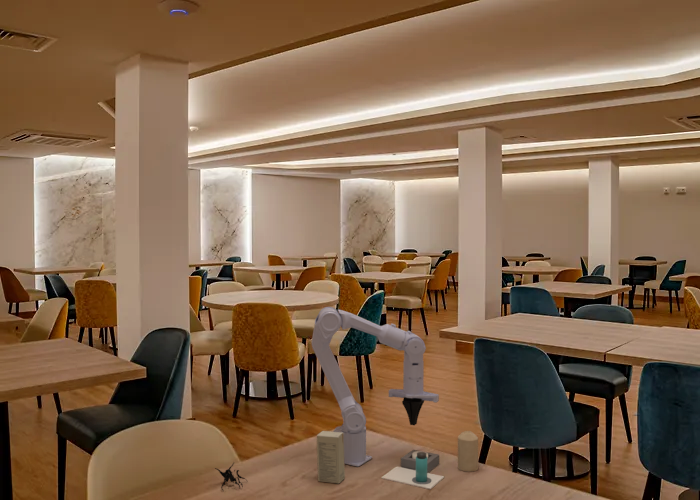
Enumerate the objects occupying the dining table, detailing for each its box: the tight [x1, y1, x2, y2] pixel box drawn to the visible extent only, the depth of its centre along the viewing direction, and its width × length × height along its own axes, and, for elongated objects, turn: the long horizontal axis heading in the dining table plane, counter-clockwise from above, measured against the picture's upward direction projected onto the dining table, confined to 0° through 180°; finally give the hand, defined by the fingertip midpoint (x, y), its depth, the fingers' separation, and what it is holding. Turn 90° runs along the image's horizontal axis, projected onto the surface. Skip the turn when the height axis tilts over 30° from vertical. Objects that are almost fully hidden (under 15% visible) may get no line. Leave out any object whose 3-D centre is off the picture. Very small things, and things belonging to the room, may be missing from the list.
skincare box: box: [316, 430, 346, 484], centre depth 164 cm, size 6×4×12 cm
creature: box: [214, 462, 249, 492], centre depth 160 cm, size 8×5×8 cm
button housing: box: [400, 449, 440, 473], centre depth 174 cm, size 8×8×3 cm
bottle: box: [416, 451, 427, 483], centre depth 163 cm, size 3×3×7 cm
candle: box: [457, 430, 479, 473], centre depth 172 cm, size 6×6×10 cm
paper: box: [381, 466, 445, 490], centre depth 165 cm, size 14×9×1 cm, turn 59°
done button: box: [412, 450, 428, 459], centre depth 174 cm, size 4×4×3 cm
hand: (413, 424), depth 179 cm, fingers closed
